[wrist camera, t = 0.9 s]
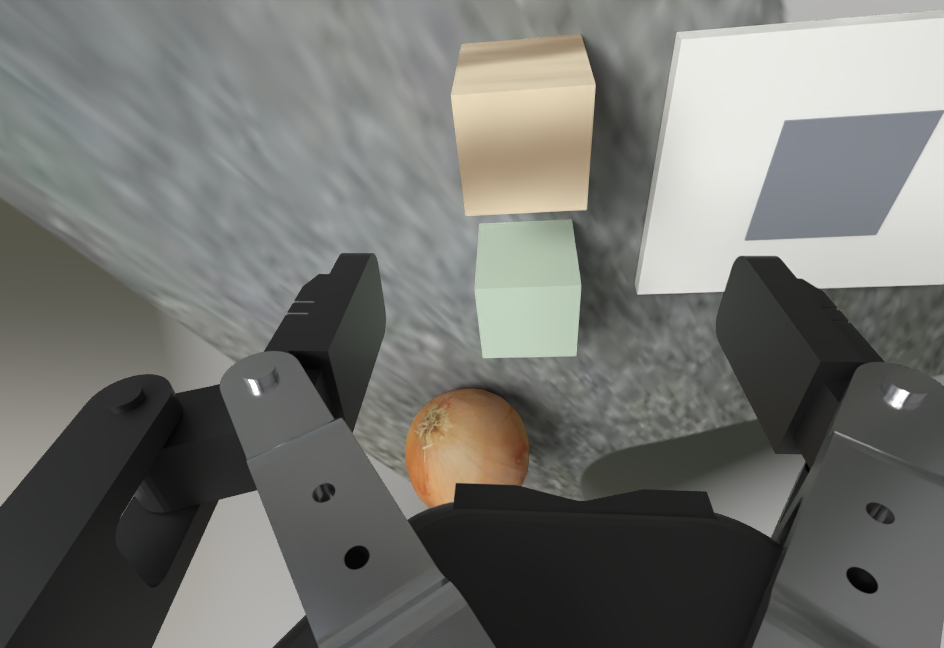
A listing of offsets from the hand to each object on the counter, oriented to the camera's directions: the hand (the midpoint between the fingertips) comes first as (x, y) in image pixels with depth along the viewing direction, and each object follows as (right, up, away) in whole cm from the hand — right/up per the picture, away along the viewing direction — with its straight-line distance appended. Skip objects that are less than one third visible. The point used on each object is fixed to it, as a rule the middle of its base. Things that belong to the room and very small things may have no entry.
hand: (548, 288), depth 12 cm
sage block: (+2, +3, +21) cm, 21 cm away
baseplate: (+17, +7, +16) cm, 24 cm away
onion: (-2, -7, +32) cm, 33 cm away
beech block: (+1, +10, +14) cm, 18 cm away
